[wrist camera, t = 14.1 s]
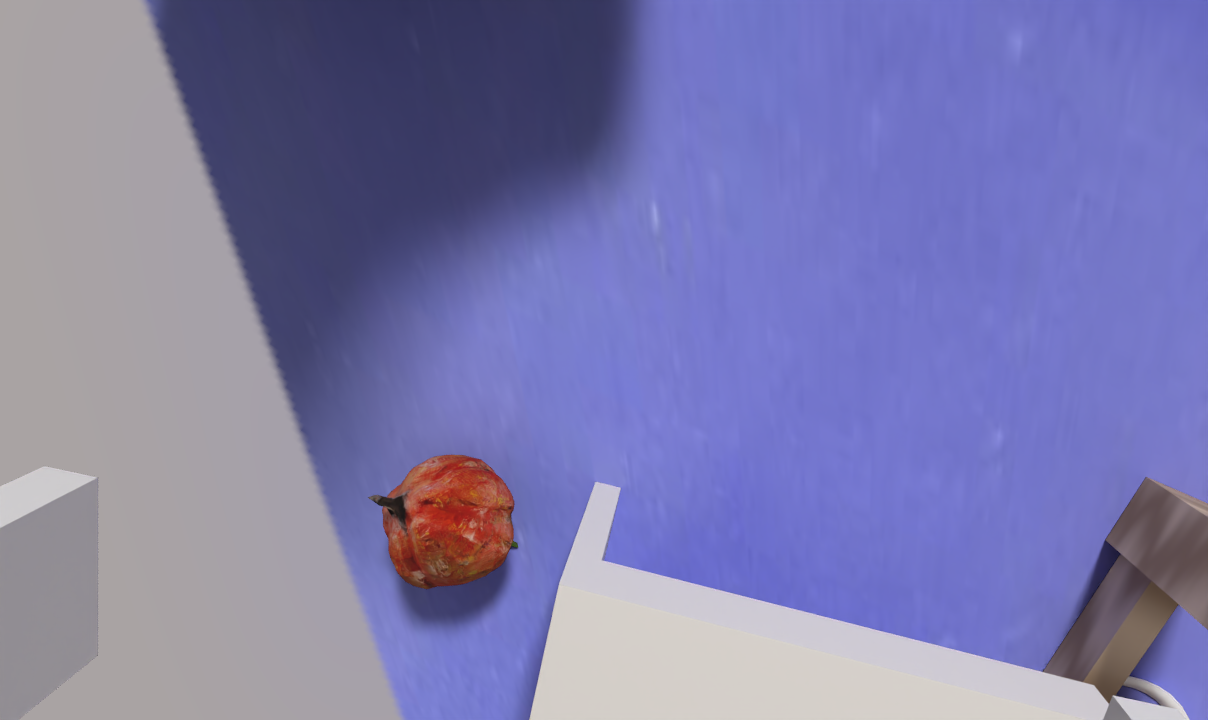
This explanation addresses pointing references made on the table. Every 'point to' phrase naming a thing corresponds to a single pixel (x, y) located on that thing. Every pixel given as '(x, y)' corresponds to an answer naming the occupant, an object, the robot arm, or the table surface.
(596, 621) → the shelf
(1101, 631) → the block
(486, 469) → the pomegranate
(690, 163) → the table surface
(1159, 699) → the hamburger
